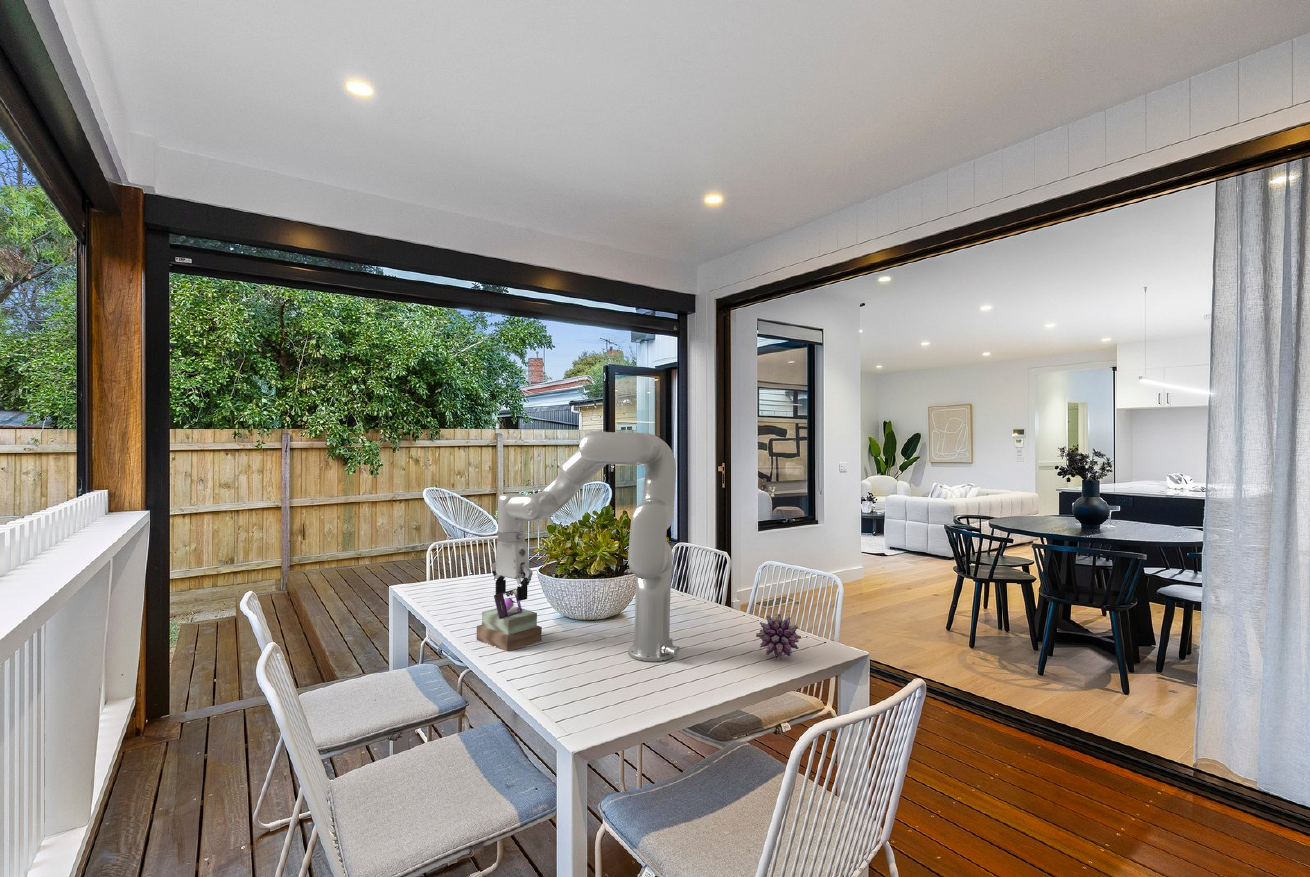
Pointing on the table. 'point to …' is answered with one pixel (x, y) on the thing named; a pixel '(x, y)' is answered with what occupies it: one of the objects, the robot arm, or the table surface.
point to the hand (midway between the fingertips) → (511, 597)
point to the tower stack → (509, 629)
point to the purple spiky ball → (778, 636)
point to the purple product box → (506, 603)
